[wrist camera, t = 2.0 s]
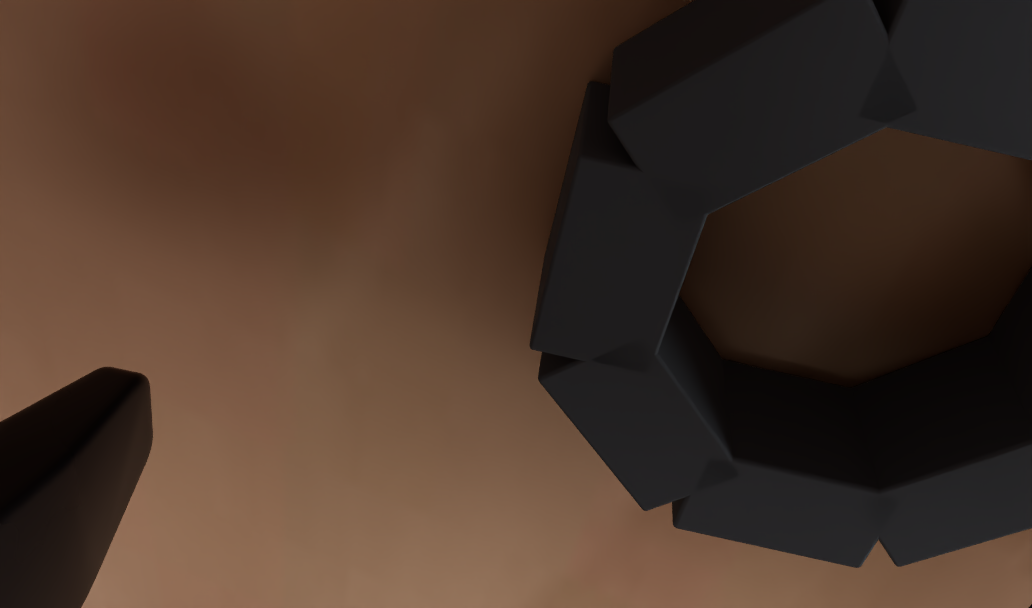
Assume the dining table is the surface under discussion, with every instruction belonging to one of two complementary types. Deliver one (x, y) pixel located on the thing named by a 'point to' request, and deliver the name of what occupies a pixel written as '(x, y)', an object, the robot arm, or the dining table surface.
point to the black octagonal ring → (756, 391)
